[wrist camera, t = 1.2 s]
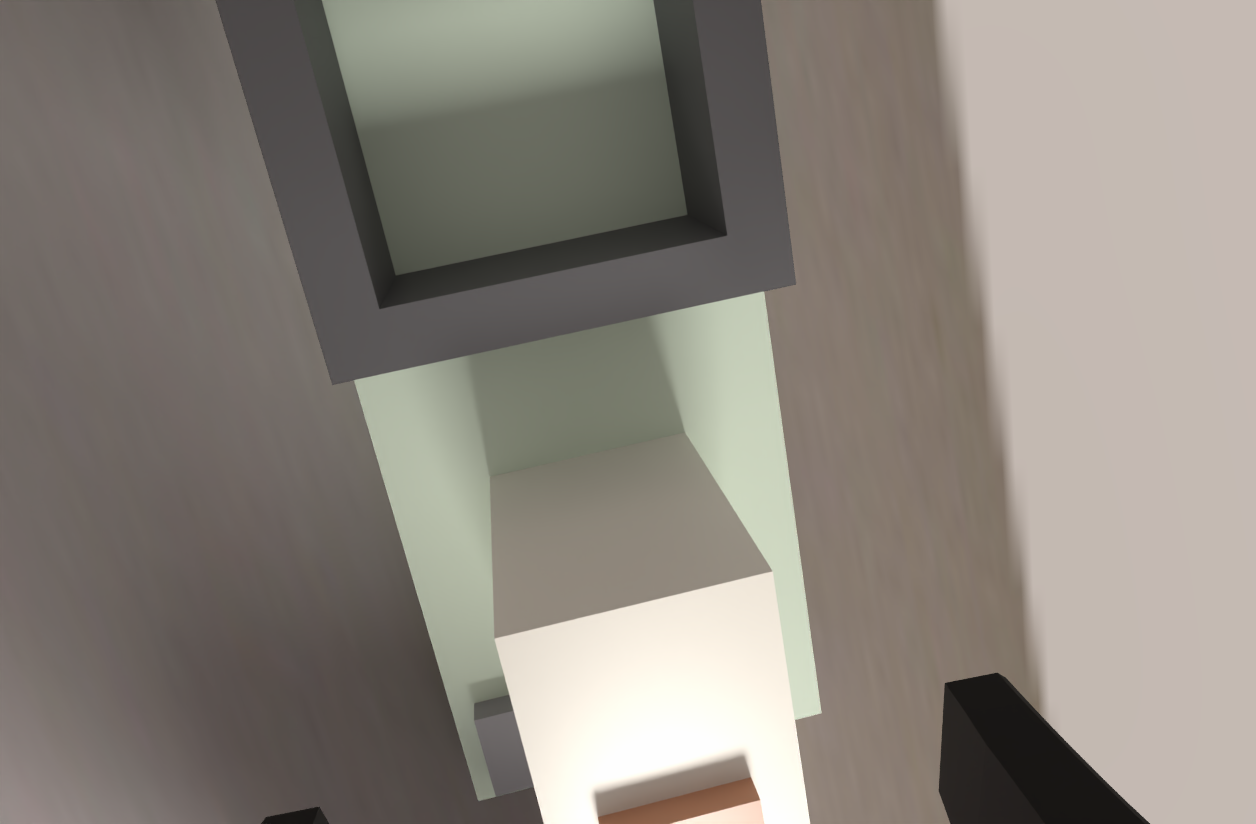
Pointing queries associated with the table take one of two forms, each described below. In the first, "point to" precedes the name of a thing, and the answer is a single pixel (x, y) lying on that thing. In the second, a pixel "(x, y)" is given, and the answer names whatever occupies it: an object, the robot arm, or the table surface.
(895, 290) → the table surface
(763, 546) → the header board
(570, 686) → the plug
